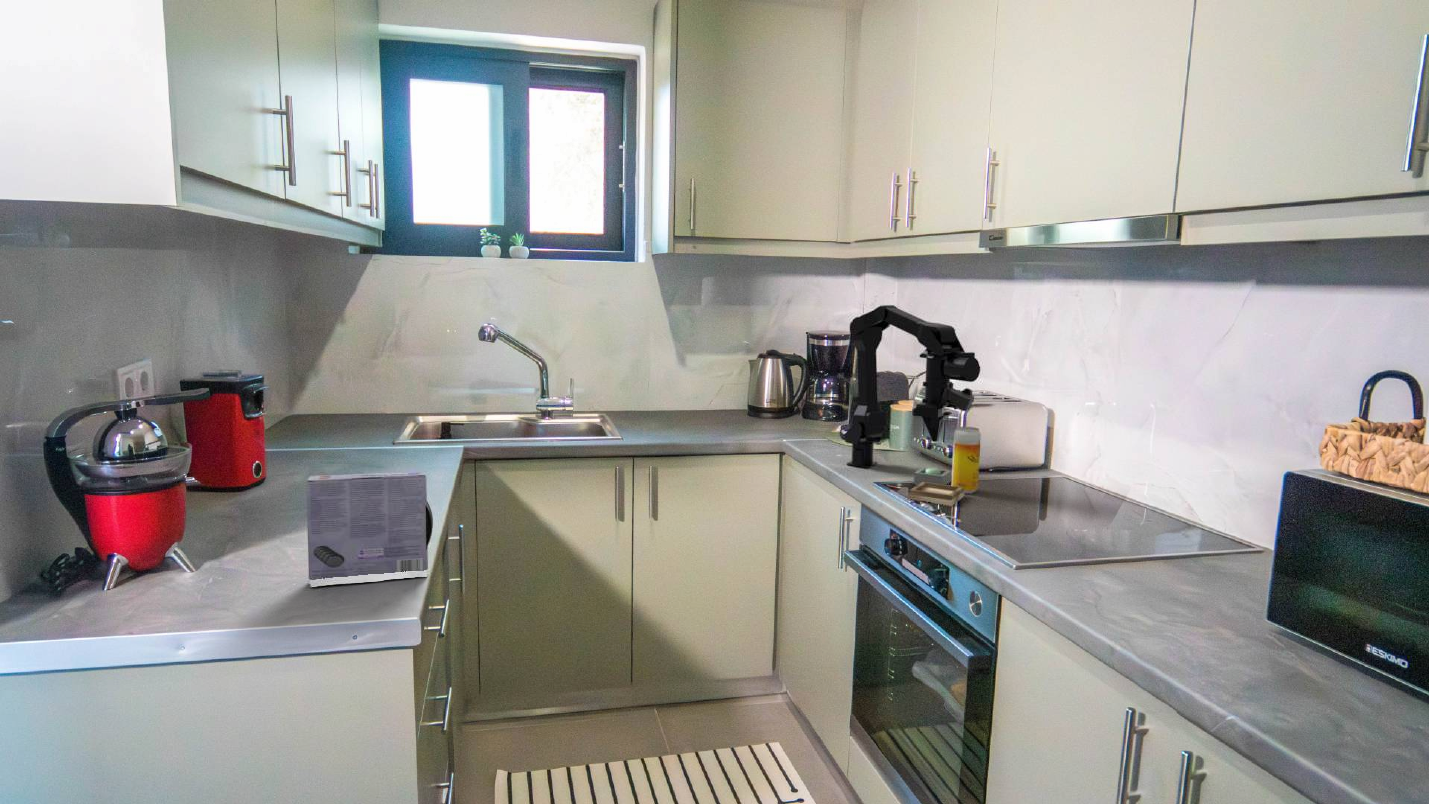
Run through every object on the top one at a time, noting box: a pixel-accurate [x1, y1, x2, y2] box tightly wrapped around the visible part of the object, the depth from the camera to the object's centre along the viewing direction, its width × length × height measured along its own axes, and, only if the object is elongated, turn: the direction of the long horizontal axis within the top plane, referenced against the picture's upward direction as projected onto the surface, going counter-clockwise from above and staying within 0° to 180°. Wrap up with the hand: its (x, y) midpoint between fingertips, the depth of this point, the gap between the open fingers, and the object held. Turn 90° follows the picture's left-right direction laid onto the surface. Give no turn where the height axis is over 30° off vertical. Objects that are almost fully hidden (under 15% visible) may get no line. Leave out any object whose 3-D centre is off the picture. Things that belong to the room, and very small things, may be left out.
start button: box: [925, 467, 942, 475], centre depth 211 cm, size 4×4×2 cm
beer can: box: [950, 426, 982, 494], centre depth 204 cm, size 6×6×15 cm
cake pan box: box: [306, 471, 434, 580], centre depth 142 cm, size 19×5×18 cm, turn 109°
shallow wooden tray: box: [907, 482, 965, 507], centre depth 198 cm, size 10×10×2 cm
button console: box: [913, 467, 952, 486], centre depth 212 cm, size 7×7×3 cm
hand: (935, 441), depth 210 cm, fingers closed
